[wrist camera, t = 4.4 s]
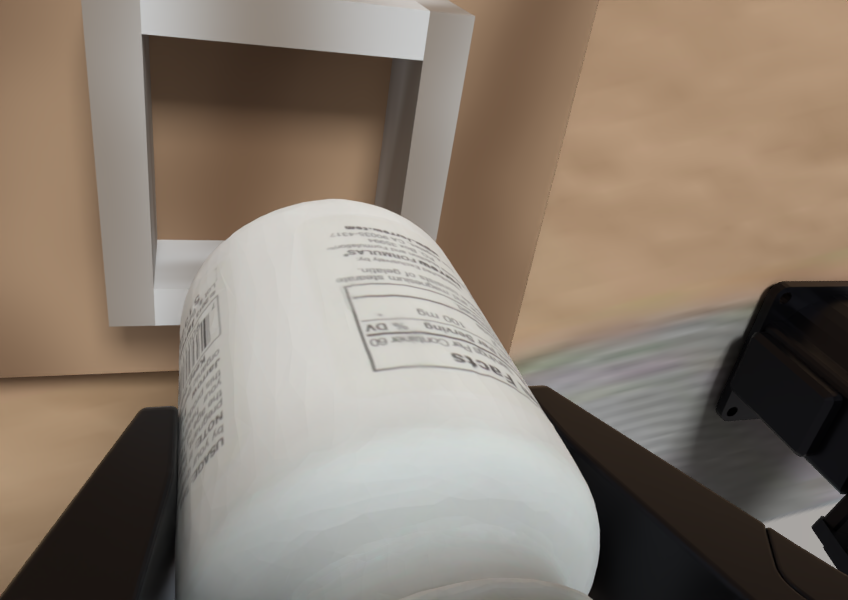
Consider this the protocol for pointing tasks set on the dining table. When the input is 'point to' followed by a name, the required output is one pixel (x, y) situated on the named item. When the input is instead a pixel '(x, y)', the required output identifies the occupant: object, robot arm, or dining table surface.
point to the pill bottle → (362, 427)
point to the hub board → (260, 149)
